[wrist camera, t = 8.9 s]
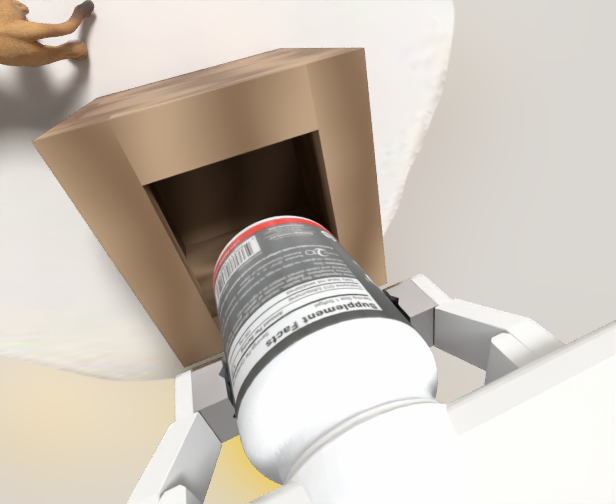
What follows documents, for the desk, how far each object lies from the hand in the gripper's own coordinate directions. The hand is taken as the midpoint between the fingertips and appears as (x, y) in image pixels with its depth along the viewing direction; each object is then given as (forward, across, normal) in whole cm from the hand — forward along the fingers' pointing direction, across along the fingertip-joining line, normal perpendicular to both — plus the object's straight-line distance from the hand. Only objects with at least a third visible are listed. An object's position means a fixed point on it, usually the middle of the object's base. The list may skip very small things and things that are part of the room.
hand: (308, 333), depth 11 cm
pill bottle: (+4, 0, 0) cm, 4 cm away
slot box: (+22, 0, 0) cm, 22 cm away
